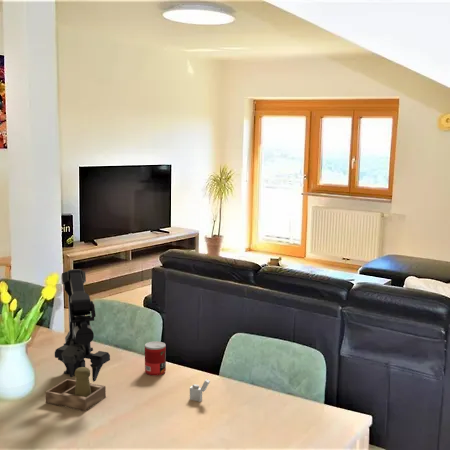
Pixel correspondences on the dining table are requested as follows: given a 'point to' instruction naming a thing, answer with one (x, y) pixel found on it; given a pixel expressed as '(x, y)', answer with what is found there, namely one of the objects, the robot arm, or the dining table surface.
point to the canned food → (155, 358)
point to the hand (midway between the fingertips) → (82, 379)
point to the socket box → (66, 395)
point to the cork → (82, 382)
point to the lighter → (198, 391)
